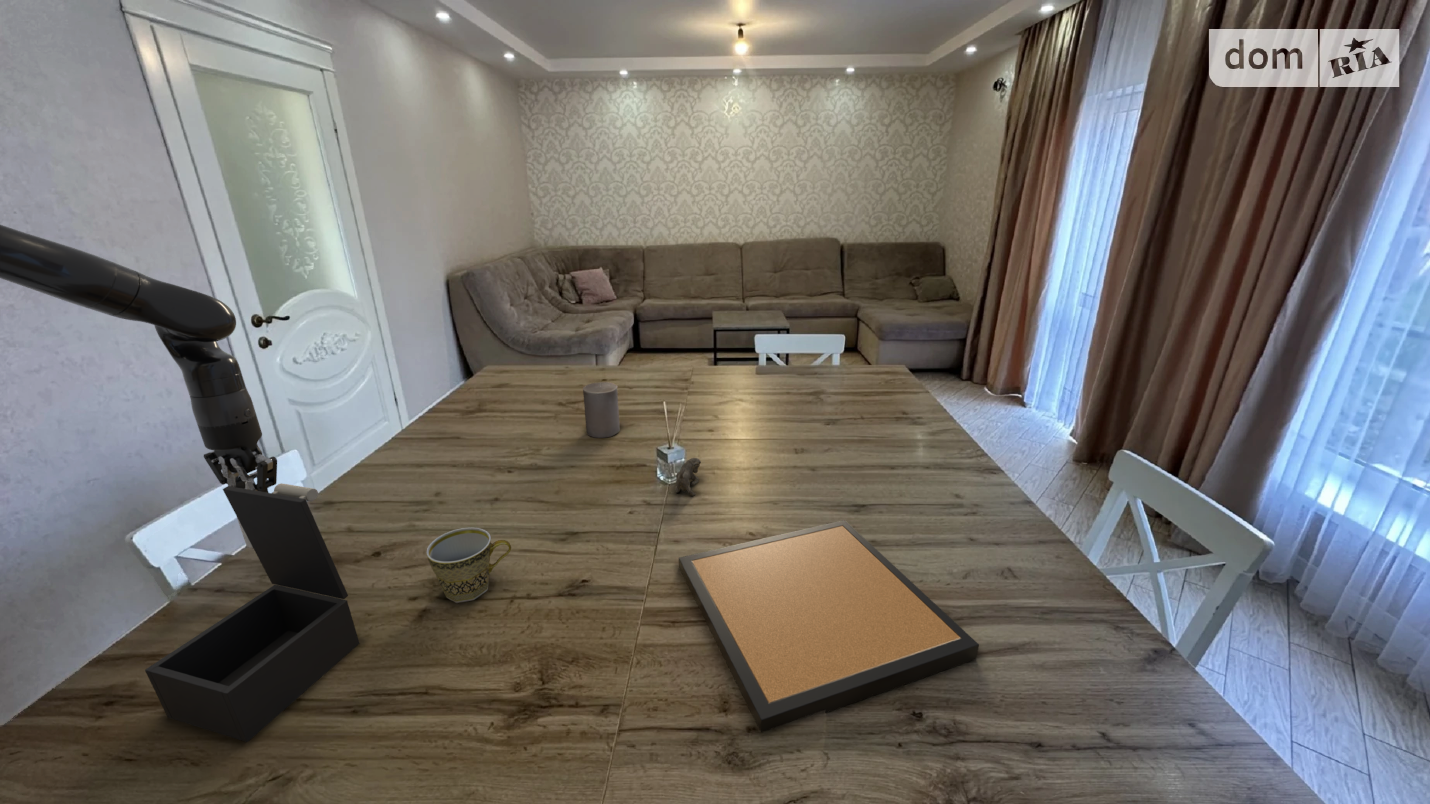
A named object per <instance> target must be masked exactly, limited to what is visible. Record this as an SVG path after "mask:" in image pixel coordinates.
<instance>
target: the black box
mask: <svg viewBox="0 0 1430 804" xmlns="http://www.w3.org/2000/svg"><path fill="white" fill-rule="evenodd" d="M359 645H360V640H359V636H358V633H357V630H356V626H355V623H354V620H353V616H352V612H351V610H350V606H349V602H348V600H347V599H340V598H336V597H331V596H326V595H322V594H317V593H313V592H308V591H303V590H299V589H294V588H290V587H285V586H281V585H276V584H272V586H270V587H269V588H267V589H265V590H263V592H261V593H259V594H258V595H256V596H255V597H254V598H252V599H251V600H248V601H247V602H246V603H244V604H243V605H242V606H240V607H238V608H237V609H235V610H234V611H232V612H231V613H229V614H228V615H226V616H225V617H223V618H222V619H220V620H219V621H217V622H215V623H213V624H212V625H210V626H209V627H208V628H207V629H205V630H203V631H201V632H199V634H197V635H196V636H193V638H191V639H189V640H188V641H186V642H185V643H184V644H181V645H180V646H179V647H178V648H176V649H174V650H173V651H171V652H170V653H168V654H166V655H165V656H164V657H162V658H161V659H159V660H157V661H156V662H155V663H152V664H151V665H149V667H147V668H146V669H144V671H145V673H146V676H147V678H148V680H149V682H150V684H151V686H152V688H153V690H154V692H155V694H156V696H157V699H158V700H159V702H160V705H161V707H162V709H163V711H164V713H165V715H166V717H167V719H168V718H169V719H171V720H175V721H178V722H181V723H184V724H188V725H191V726H194V727H197V728H201V729H204V730H207V731H211V732H212V733H217V734H219V735H223V736H225V737H229V738H233V739H236V740H239V741H242V742H244V743H245V742H246V743H248V742H250V740H252V739H253V738H254V737H255V736H256V735H257V734H259V733H260V732H261V731H262V730H263V729H264V728H265V727H267V726H268V725H269V724H270V723H271V722H272V721H273V720H275V719H276V718H277V717H278V716H279V715H280V714H281V713H283V711H285V710H286V709H287V708H289V706H290V705H291V704H293V703H294V702H295V701H296V700H297V699H298V698H299V697H301V696H302V695H303V694H304V693H305V692H307V690H308V689H310V688H311V687H312V686H313V685H314V684H315V683H317V681H319V680H320V679H321V678H322V677H323V676H325V674H327V673H328V672H329V671H330V670H332V668H333V667H335V666H336V665H337V664H338V663H339V662H341V660H342V659H344V658H345V657H346V656H348V654H350V652H352V651H353V650H354V649H355V648H356V647H358V646H359Z"/></svg>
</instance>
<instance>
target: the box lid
mask: <svg viewBox="0 0 1430 804" xmlns="http://www.w3.org/2000/svg"><path fill="white" fill-rule="evenodd" d="M222 491H223V493H224V495H225V497H226V498H227V500H228V503H229V504H230V506H231V509H232V510H233V512H234V514H235V516H236V519H237V518H238V519H237V521H238V520H239V522H240V524H241V526H242V527H243V529H244V531H245V533H246V535H247V537H248V539H249V541H250V543H251V545H252V547H253V551H254V553H255V554H256V556H257V558H258V561H259V562H260V564H261V566H262V569H264V572H265V574H266V576H267V577H268V579H269V581H270V583H271V584H272V585H279V586H284V587H288V588H293V589H298V590H302V591H307V592H311V593H316V594H321V595H325V596H330V597H334V598H339V599H343V600H346V598H348V597H349V593H348V592H347V589H346V587H345V585H344V583H343V580H342V578H341V576H340V574H339V572H338V569H337V567H336V565H335V563H334V560H333V558H332V556H331V553H330V551H329V549H328V547H327V545H326V542H325V540H324V538H323V535H322V532H321V530H320V528H319V526H318V524H317V521H316V519H315V517H314V515H313V513H312V511H311V508H310V506H309V504H308V502H313V501H315V500H316V499H317V498H318V496H319V491H318V489H316V488H313V487H306V486H301V485H294V484H287V483H281V482H280V483H277V484H276V485H275V486H274V489H273V491H272V492H269V493H267V492H261V491H255V490H249V489H243V488H237V487H231V486H228V485H227V486H225V487H223V488H222ZM239 522H238V523H239Z"/></svg>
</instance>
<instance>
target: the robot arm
mask: <svg viewBox="0 0 1430 804" xmlns="http://www.w3.org/2000/svg"><path fill="white" fill-rule="evenodd" d="M0 279H1V280H4V281H6V282H10V283H13V284H16V285H19V286H21V287H23V288H24V287H25V288H27V289H30V290H33V291H36V292H39V293H42V294H45V295H47V296H49V297H53V298H56V299H59V300H60V301H65V302H67V303H71V304H74V305H76V306H79V307H82V308H85V309H88V310H92V311H94V312H98V313H101V314H104V315H107V316H110V317H115V318H118V319H122V320H125V321H127V320H128V321H133V322H140V323H145V324H150V325H153V326H154V329H155V331H156V334H157V335H158V337H159V339H160V341H161V342H162V345H164V347H165V348H166V350H167V352H168V353H169V355H170V356H171V358H172V359H173V361H174V362H175V364H176V365H177V366H178V367H179V369H180V371H181V374H182V377H183V381H184V384H185V386H186V390H187V392H188V395H189V399H190V405H191V410H192V413H193V416H194V420H195V422H196V426H197V428H198V431H199V434H200V437H201V439H202V442H203V446H204V447H205V448H206V449H207V450H210V451H209V452H207V453H204V454H203V458H204V460H205V461H206V464H207V465H208V466H209V468H210V469H211V471H212V472H213V475H214V476H215V477H216V479H217V481H218V482H219V484H221V485H223V486H224V485H227V486H231V487H237V488H243V489H245V482H247V484H248V486H249V488H250V490H255V491H261V492H267V493H270V492H269V488H271V487H274V486H276V485H277V483H278V482H277V480H278V459H277V457H276V456H271V457H267V456H265V455H263V452H262V449H260V447H259V444H258V442H259V441H260V439H262V436H263V432H262V429H261V425H260V422H259V419H258V415H257V413H256V409H255V405H254V402H253V400H252V399H253V398H252V396H251V394H250V392H249V391H248V389H247V386H246V383H245V380H244V377H243V373H242V370H241V367H240V364H239V362H238V360H237V358H236V357H235V356H234V355H232V354H230V353H228V352H227V351H225V350H223V349H222V348H221V347H220V345H219V344H218V342H220V341H223V340H225V339H227V338H229V337H230V336H231V335H232V334H233V333H234V332H235V330H236V328H237V318H236V314H235V313H234V312H233V310H232V309H231V308H230V307H229V305H227V304H226V303H225V302H223V301H222V300H220V299H218V298H216V297H213V296H211V295H209V294H206V293H202V292H200V291H196V290H193V289H190V288H186V287H183V286H180V285H178V284H177V285H176V284H173V283H169V282H165V281H163V280H159V279H157V278H153V277H151V276H149V275H146V274H143V273H141V272H139V271H137V270H134V269H132V268H129V267H127V266H124V265H122V264H119V263H116V262H114V261H111V260H109V259H107V258H104V257H100V256H98V255H95V254H92V253H90V252H88V251H85V250H81V249H78V248H75V247H72V246H69V245H65V244H64V243H63V244H62V243H59V242H56V241H53V240H50V239H47V238H44V237H40V236H36V235H34V234H30V233H27V232H24V231H21V230H18V229H15V228H12V227H9V226H6V225H3V224H0ZM255 479H256V482H255Z"/></svg>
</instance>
